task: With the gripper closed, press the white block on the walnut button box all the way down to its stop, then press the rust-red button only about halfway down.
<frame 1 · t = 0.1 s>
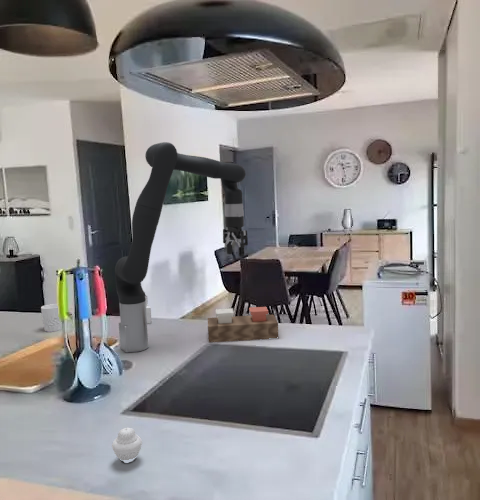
hand: (235, 255, 193), 29 cm above the kitchen island, tool pointing down, fingers open, 8 cm apart
muffin: (128, 460, 101), on the kitchen island
medicine bottle: (141, 323, 205), on the kitchen island
white block: (224, 318, 181), point 7 cm above the kitchen island, slide at 0.0 cm
red button: (258, 316, 182), point 7 cm above the kitchen island, slide at 0.0 cm
white cup: (53, 330, 199), on the kitchen island
button box: (242, 335, 183), on the kitchen island
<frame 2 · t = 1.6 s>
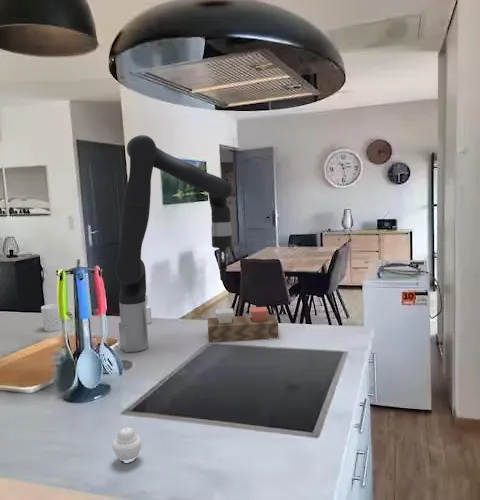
hand: (223, 280, 179), 22 cm above the kitchen island, tool pointing down, fingers closed
nothing on the kitchen island moved.
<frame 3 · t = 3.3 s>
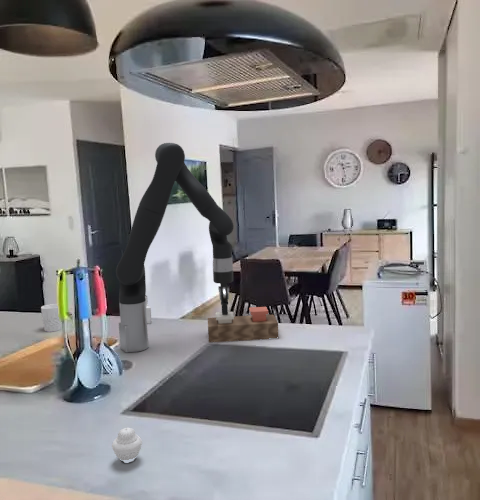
hand: (224, 314, 181), 9 cm above the kitchen island, tool pointing down, fingers closed
white block: (224, 321, 182), point 6 cm above the kitchen island, slide at 1.3 cm, touching gripper
everything else where it was.
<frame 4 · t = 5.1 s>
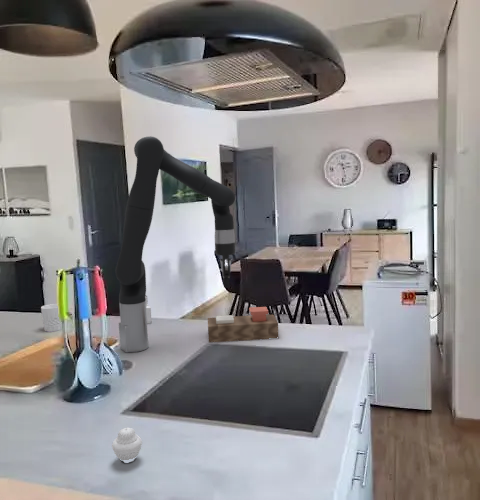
hand: (226, 287, 180), 19 cm above the kitchen island, tool pointing down, fingers closed
white block: (225, 325, 182), point 4 cm above the kitchen island, slide at 2.7 cm
everything else where it was.
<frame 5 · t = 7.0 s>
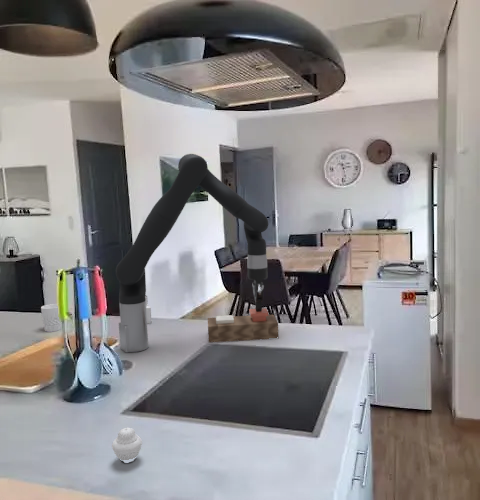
hand: (258, 310, 182), 9 cm above the kitchen island, tool pointing down, fingers closed
red button: (258, 318, 182), point 6 cm above the kitchen island, slide at 0.7 cm, touching gripper
everything else where it was.
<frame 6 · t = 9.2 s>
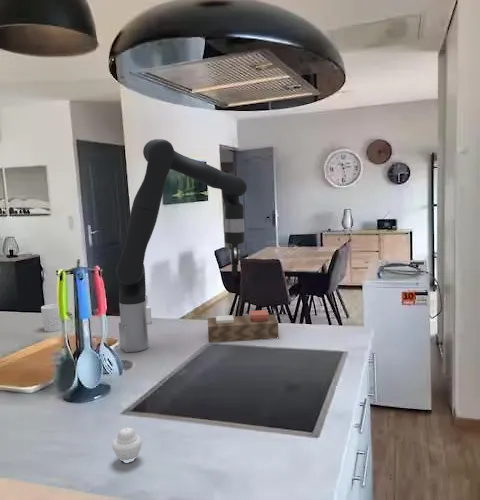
hand: (234, 275, 184), 23 cm above the kitchen island, tool pointing down, fingers closed
red button: (258, 320, 183), point 6 cm above the kitchen island, slide at 1.3 cm
everything else where it was.
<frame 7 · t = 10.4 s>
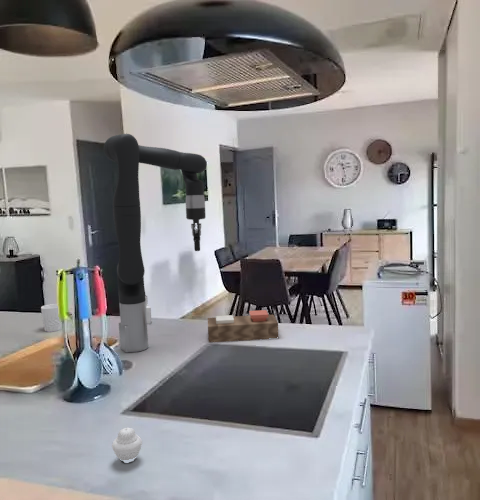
hand: (197, 250, 189), 32 cm above the kitchen island, tool pointing down, fingers closed
nothing on the kitchen island moved.
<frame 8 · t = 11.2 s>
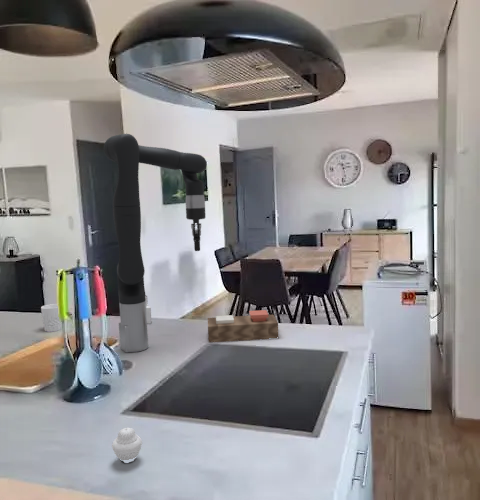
hand: (197, 250, 189), 32 cm above the kitchen island, tool pointing down, fingers closed
nothing on the kitchen island moved.
at the end: white block slide at 2.7 cm; red button slide at 1.3 cm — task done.
